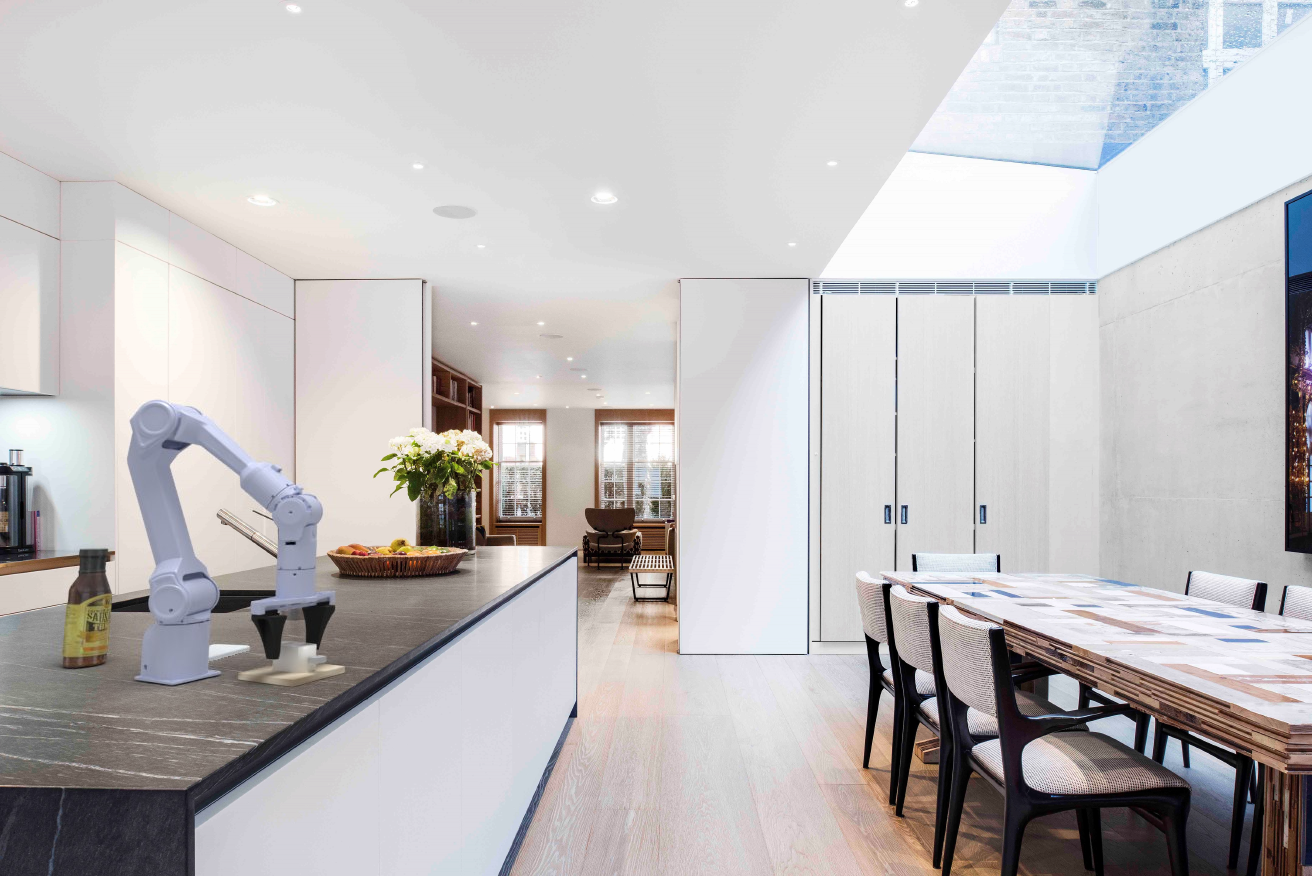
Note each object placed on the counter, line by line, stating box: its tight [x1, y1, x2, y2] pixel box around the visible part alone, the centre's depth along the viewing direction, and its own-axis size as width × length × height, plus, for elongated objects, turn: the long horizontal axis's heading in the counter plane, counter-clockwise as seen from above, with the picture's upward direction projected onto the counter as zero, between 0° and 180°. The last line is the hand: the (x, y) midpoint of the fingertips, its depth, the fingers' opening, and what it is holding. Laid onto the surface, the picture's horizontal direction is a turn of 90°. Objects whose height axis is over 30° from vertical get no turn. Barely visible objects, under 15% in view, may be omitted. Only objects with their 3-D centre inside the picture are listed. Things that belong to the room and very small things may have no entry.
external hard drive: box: [209, 643, 251, 662], centre depth 133 cm, size 2×8×12 cm
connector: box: [272, 640, 328, 673], centre depth 118 cm, size 10×3×4 cm, turn 66°
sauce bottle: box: [61, 547, 113, 668], centre depth 128 cm, size 6×6×20 cm
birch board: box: [237, 663, 346, 688], centre depth 118 cm, size 12×10×1 cm
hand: (293, 654), depth 119 cm, fingers open, 7 cm apart
